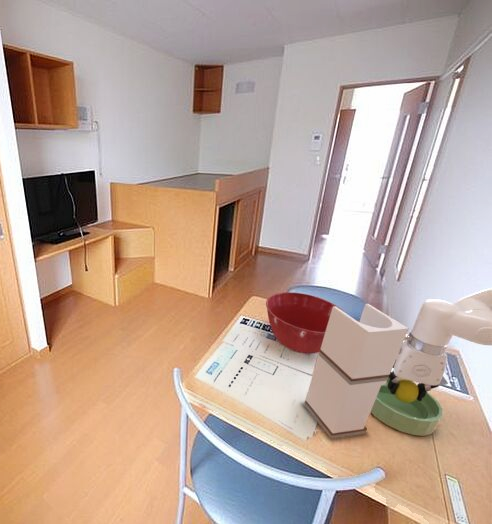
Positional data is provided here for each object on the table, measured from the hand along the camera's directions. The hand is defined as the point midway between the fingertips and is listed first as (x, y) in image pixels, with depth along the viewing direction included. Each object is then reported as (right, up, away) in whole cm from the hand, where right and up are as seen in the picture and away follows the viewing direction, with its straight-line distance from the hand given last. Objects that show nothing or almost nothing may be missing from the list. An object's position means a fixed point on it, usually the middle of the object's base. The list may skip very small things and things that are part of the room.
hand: (404, 393), depth 89 cm
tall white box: (-21, -7, 0) cm, 22 cm away
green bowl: (0, -6, +3) cm, 7 cm away
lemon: (0, -3, +1) cm, 3 cm away
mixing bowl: (-15, +6, +33) cm, 36 cm away
